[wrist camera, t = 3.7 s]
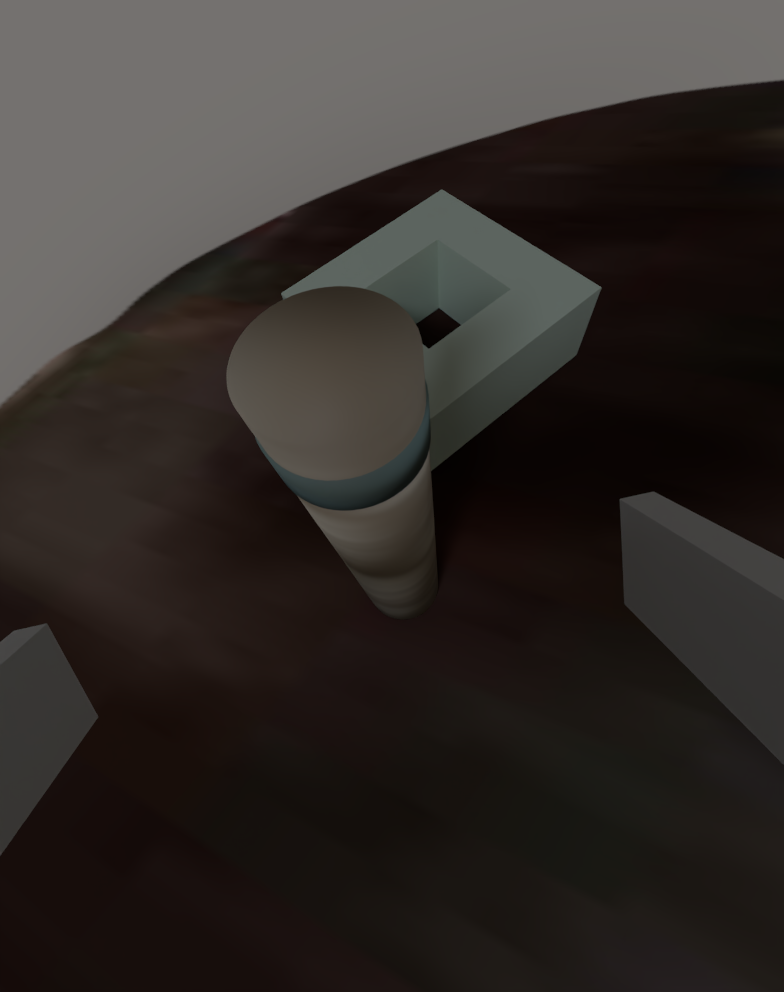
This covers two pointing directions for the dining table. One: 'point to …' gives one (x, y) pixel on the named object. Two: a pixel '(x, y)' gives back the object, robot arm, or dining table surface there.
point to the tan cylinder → (348, 431)
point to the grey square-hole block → (470, 309)
